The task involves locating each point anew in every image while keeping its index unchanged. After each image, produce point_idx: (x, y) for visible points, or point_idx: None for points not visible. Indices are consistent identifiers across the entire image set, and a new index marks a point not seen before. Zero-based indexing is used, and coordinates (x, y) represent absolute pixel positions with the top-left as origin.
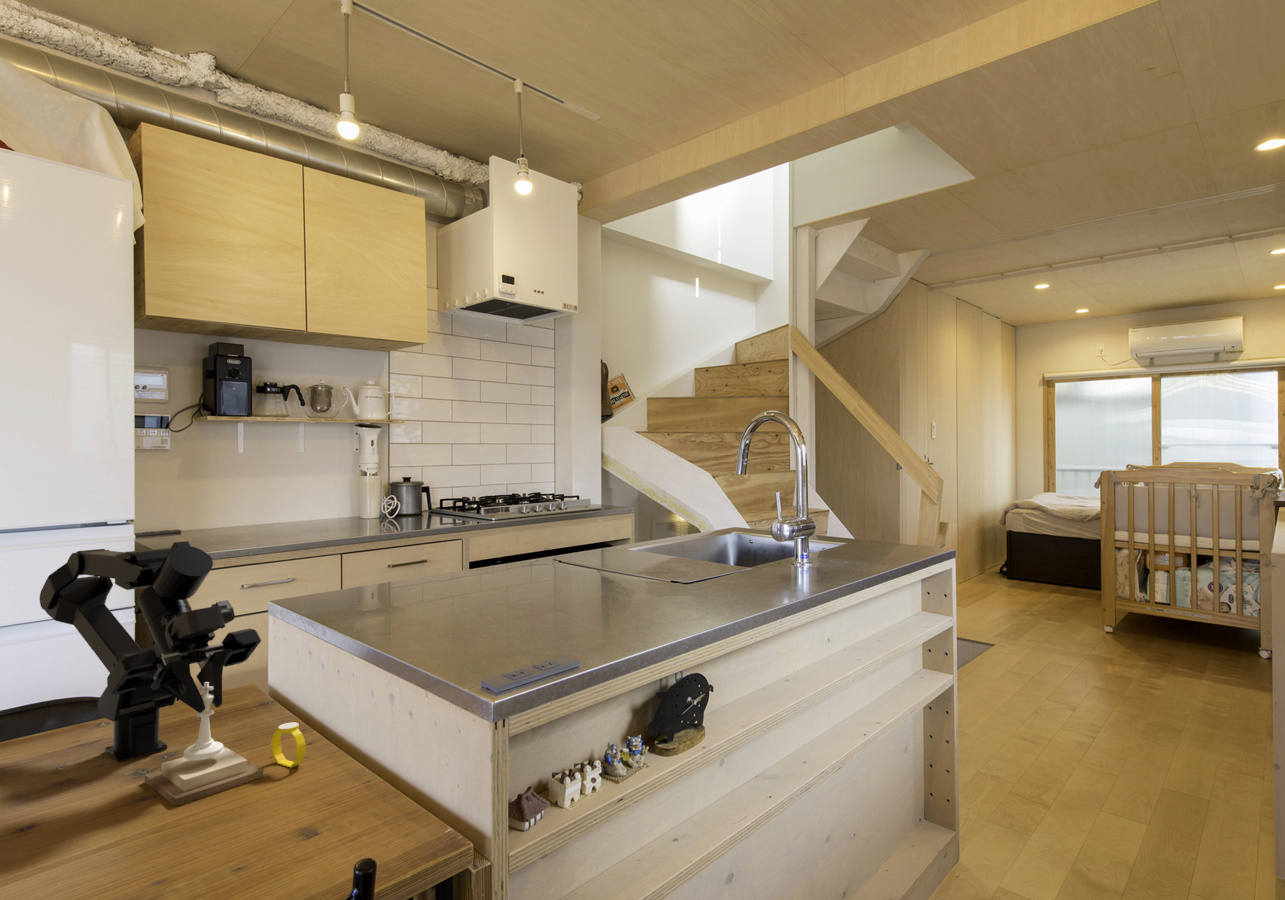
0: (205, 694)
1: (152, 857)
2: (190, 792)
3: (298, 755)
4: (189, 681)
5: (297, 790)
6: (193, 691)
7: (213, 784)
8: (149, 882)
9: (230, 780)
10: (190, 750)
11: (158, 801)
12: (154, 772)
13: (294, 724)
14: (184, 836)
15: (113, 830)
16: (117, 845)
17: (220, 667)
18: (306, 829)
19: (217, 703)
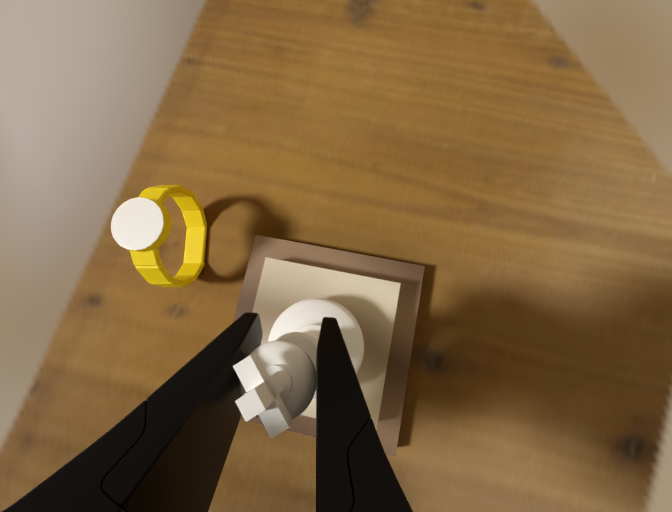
0: (280, 379)
1: (533, 132)
2: (393, 268)
3: (191, 193)
4: (349, 470)
5: (270, 134)
6: (349, 391)
7: (347, 262)
8: (568, 71)
9: (319, 247)
10: (351, 351)
11: (426, 322)
12: None
13: (125, 215)
14: (470, 151)
15: (531, 278)
16: (550, 217)
17: (40, 504)
18: (356, 16)
19: (256, 330)
